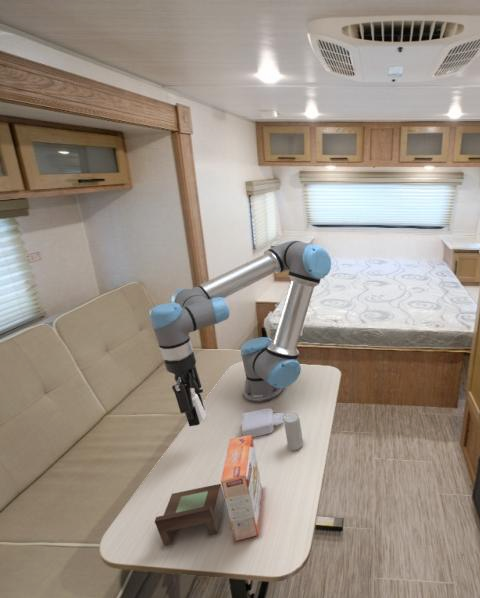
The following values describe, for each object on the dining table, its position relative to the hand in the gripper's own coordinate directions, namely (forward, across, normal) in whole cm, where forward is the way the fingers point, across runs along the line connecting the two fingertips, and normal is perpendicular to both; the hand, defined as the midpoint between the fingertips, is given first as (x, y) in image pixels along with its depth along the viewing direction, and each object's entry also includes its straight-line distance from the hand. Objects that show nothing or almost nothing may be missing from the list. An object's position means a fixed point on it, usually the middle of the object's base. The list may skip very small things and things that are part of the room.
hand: (197, 417), depth 108 cm
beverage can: (+13, +6, +29) cm, 32 cm away
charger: (+13, -6, +19) cm, 24 cm away
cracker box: (+13, +28, +17) cm, 35 cm away
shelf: (+13, +26, +4) cm, 29 cm away
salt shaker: (+1, 0, 0) cm, 1 cm away
